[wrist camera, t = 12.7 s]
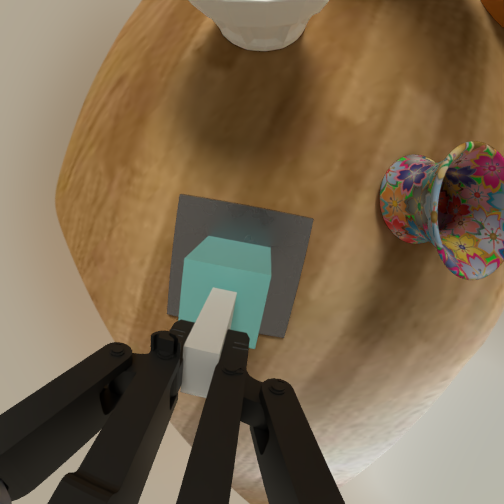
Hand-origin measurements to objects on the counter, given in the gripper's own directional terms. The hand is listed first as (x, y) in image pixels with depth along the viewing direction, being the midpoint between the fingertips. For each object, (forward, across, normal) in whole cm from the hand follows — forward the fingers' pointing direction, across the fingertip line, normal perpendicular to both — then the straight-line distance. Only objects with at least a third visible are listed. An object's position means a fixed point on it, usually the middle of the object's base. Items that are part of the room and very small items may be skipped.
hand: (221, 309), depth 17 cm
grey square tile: (+9, 0, 0) cm, 9 cm away
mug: (+10, +17, +10) cm, 22 cm away
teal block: (+9, 0, 0) cm, 9 cm away
